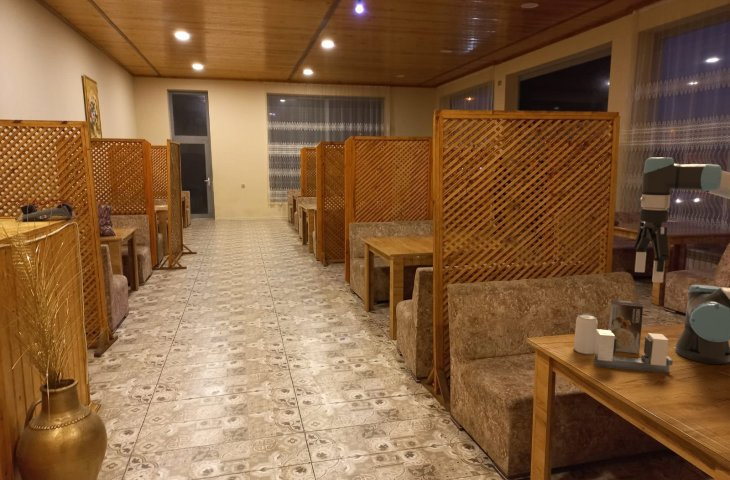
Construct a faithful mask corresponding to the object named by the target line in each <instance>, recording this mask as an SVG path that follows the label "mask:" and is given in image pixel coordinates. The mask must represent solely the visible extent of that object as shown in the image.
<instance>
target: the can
mask: <svg viewBox="0 0 730 480" xmlns="http://www.w3.org/2000/svg"><path fill="white" fill-rule="evenodd" d="M597 318H598V316H596V315H594V314H591V313H579V314H577V317H576V321H575V332H574V333H575V334H574V344H573V349H574V351H575V352H577V353H579V354H583V355H593V354H594V351H595V340H596V329H598V323H599V321H598V320H597Z"/></svg>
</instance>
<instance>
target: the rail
mask: <svg viewBox="0 0 730 480" xmlns="http://www.w3.org/2000/svg"><path fill="white" fill-rule="evenodd" d="M616 342H617V338H616V337H615V336H614V334H613V333H612V332H611V331H610V330H609V329H600V328H599V329H598V328H597V329H596V340H595V351H594V353H593V354H594V361H593V362H594V365H595V366H596V367H597V368H604V369H605V368H607V369H617V370H618V369H619V370H628V371H629V370H631V371H640V372H641V371H643V372H653V373H662V374H663V373H664V374H665V373H666V374H669V373H670V367H671V366H673V364H674V363H673V362H674V361H673V359H672V358H671V356H669V355H667V359H666V366H662V365H651V364H650V363H649V358H648V357H647V356H646V354H645V353H641V357H640V358H637V357H628V356H627V357H626V356H617V355H616V352H617V351H616ZM614 355H615V356H614Z"/></svg>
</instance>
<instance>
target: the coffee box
mask: <svg viewBox="0 0 730 480" xmlns="http://www.w3.org/2000/svg"><path fill="white" fill-rule="evenodd" d="M643 312H644V306H643V304H642V303H641V302H640V301H633V300H624V299H623V300H622V299H610V309H609V320H608V321H609V322H608V330H610V331H611V332H612V333H613V334H614V336H615V337H616V338H617V342H616V352H623V353H631V354H640V350H641V349H640V348H641V336H642V327H643V325H642V324H643Z"/></svg>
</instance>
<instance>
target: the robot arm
mask: <svg viewBox="0 0 730 480" xmlns="http://www.w3.org/2000/svg"><path fill="white" fill-rule="evenodd" d="M641 188H642V190H641V191H642V192H641V197H640V198H639V200H640V206H641V209H640V211H639V221H640V222H639V228H638V230H637V234H636V237H635V241H634V244H633V249H635V251H636V252H635V263H634V272H635V273H645V271H646V261H647V260H646V259H647V252H648V250H647V248H648V246H649V244H650V242H651V244H652V249H653V252H654V253H653V254H654V258H653V267H652V279H651V282H653V283H664V274H665V263H666V261H670V252H669V244H668V243H669V242H668V235H667V234H668V227H667V226H665V227H664V226H662V224H664V223H668V221H669V213H670V212H669V210H668V209H669V208H670V204H671V191H672V190H674V191H675V190H676V191H677V190H681V191H683V190H684V191H700V192H704V193H706V194H712V195H715V196H718V197H722V198H725V199H729V200H730V171H725V170H723V169H722V166H721V165H719V164H712V163H706V164H703V163H701V164H700V163H690V164H681V163H675V160H674V158H673V157H648V158H647V159H646V160H645V161H644V168H643V175H642V187H641ZM685 311H686V312H685V320H684V327H683V330H682V332H681V334H680V336H679V338H678V340H677V341H676V343H675V348H674V349H675V352H676V354H678V355H679V356H681V357H682V358H683V357H684V358H686V359H689V360H691V361H695V362H700V363H703V364H709V365H710V364H712V365H725V364H726V365H727V364H729V363H730V342H729V340H730V287H725V286H723V287H721V286H714V285H708V284H707V285H704V284H692V285H690V286H689V289H688V292H687V303H686V310H685Z"/></svg>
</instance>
